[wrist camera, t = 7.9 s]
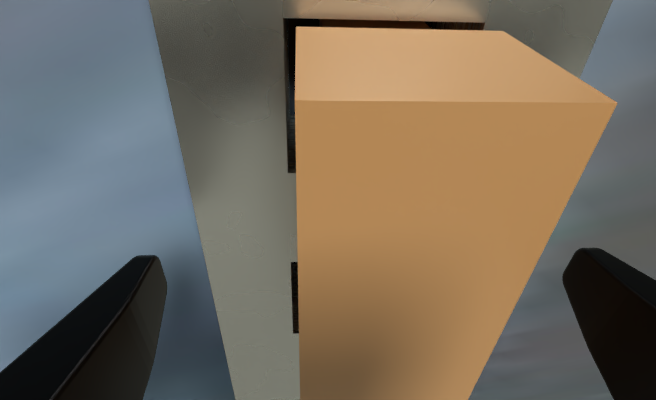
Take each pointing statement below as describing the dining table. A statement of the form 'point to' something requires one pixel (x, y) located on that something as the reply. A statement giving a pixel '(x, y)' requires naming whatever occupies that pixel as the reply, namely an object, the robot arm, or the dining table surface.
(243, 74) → the rail
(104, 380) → the robot arm
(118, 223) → the dining table surface
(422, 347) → the tan stepped block
